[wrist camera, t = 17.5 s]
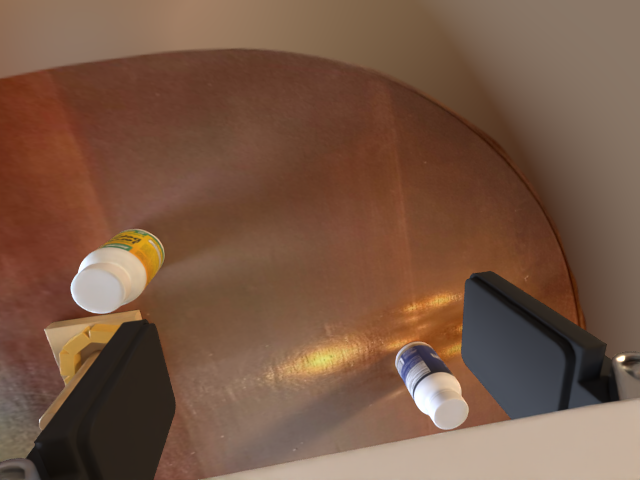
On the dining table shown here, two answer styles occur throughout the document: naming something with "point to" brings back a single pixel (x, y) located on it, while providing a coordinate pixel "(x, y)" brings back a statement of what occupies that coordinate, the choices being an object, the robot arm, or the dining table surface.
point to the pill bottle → (432, 385)
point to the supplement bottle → (117, 271)
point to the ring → (82, 347)
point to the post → (68, 329)
